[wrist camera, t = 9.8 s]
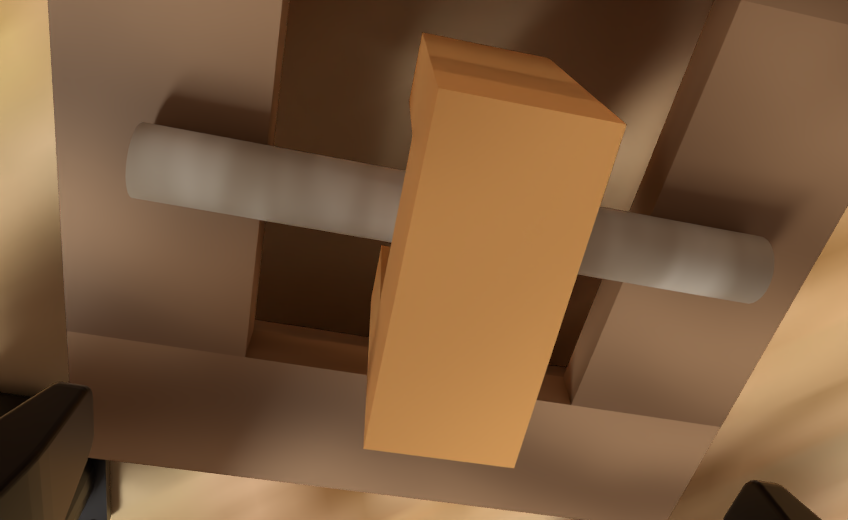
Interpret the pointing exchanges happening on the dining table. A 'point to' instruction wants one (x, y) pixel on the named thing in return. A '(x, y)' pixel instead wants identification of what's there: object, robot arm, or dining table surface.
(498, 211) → the tall grooved wooden block
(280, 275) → the dining table surface
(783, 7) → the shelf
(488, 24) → the dining table surface
